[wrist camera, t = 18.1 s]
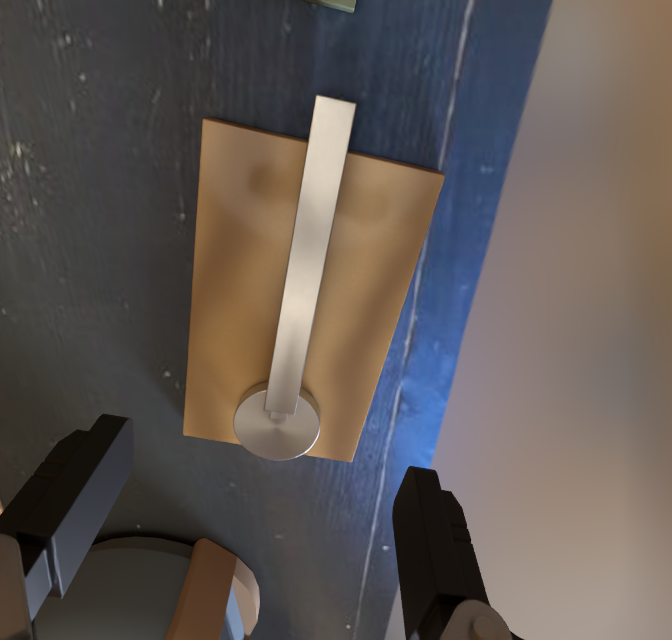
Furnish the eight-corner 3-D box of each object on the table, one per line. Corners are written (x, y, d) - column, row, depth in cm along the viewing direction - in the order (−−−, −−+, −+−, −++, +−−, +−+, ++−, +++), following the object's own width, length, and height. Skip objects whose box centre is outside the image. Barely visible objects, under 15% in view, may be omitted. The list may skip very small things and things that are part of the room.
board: (441, 171, 24) (446, 175, 23) (351, 451, 34) (351, 462, 33) (208, 116, 23) (202, 118, 22) (187, 424, 33) (182, 435, 32)
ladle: (280, 90, 23) (273, 83, 20) (390, 115, 23) (398, 112, 20) (232, 443, 32) (222, 473, 29) (312, 455, 32) (310, 486, 29)
